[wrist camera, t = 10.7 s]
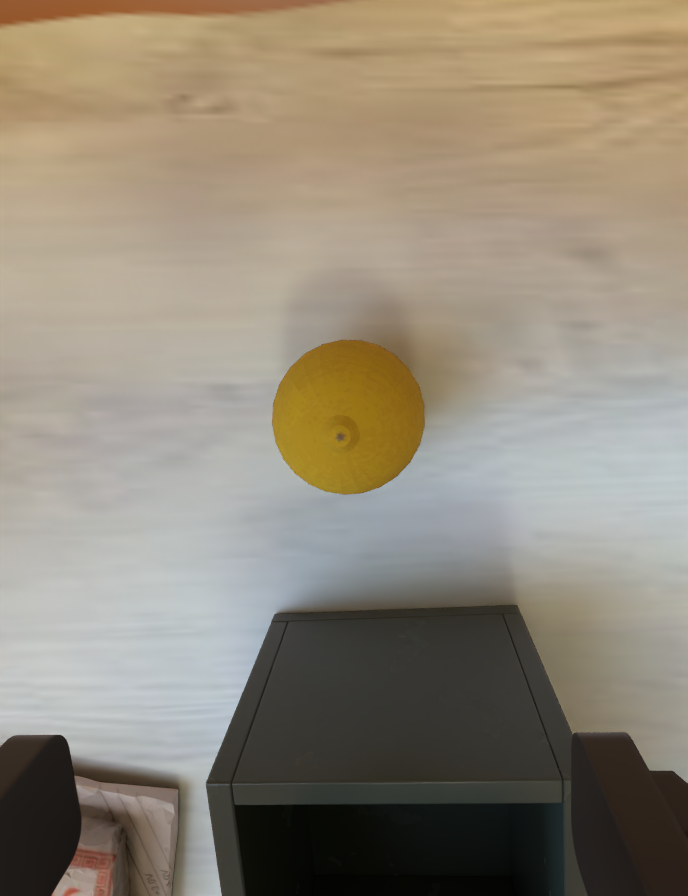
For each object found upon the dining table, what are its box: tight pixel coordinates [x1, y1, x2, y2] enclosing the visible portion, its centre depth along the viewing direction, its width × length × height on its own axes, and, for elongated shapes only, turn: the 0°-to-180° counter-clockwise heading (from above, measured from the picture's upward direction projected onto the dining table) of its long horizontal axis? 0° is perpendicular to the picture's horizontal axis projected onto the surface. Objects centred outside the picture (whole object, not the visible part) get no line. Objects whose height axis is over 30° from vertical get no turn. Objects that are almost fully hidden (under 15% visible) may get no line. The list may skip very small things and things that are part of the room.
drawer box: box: [206, 605, 588, 896], centre depth 24 cm, size 15×11×11 cm
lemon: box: [272, 340, 425, 494], centre depth 23 cm, size 6×6×8 cm
